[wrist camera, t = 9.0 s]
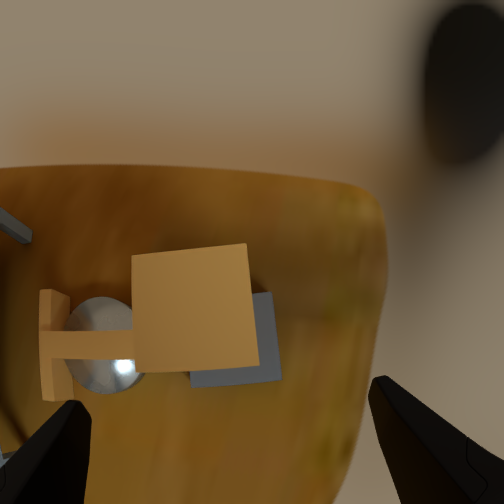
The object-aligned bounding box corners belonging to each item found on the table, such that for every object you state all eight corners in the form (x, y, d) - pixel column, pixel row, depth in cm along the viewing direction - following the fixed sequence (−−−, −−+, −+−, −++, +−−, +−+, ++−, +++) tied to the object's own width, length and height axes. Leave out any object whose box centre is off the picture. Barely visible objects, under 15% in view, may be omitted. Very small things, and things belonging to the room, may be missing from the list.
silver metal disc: (171, 337, 18) (164, 336, 17) (121, 410, 17) (112, 413, 15) (103, 283, 19) (94, 278, 18) (59, 351, 18) (48, 350, 17)
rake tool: (268, 279, 19) (291, 146, 7) (282, 394, 17) (339, 465, 5) (59, 297, 19) (-84, 227, 7) (62, 397, 17) (-93, 403, 4)
